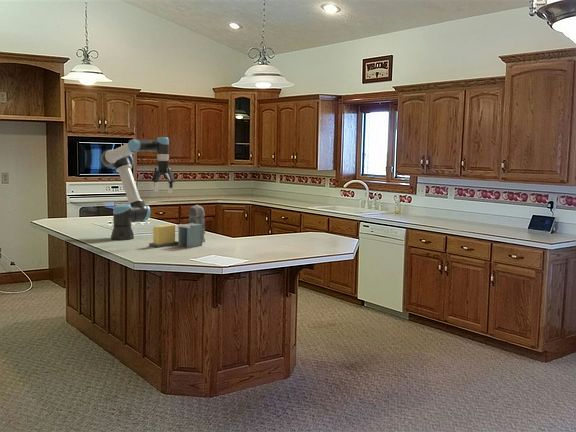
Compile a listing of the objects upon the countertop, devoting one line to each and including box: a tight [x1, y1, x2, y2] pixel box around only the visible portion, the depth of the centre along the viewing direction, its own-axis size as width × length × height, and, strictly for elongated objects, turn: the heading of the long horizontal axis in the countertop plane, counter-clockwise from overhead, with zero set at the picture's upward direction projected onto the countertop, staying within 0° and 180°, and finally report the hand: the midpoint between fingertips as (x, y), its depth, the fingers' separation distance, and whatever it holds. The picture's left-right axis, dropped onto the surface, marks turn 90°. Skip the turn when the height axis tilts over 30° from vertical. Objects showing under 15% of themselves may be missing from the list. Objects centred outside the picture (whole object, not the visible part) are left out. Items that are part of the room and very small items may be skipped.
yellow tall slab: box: [152, 224, 176, 245], centre depth 389 cm, size 5×14×12 cm, turn 143°
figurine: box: [187, 204, 206, 243], centre depth 408 cm, size 10×14×25 cm
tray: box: [148, 240, 178, 249], centre depth 389 cm, size 9×18×2 cm, turn 143°
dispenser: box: [177, 223, 203, 249], centre depth 389 cm, size 9×12×14 cm
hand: (163, 192), depth 404 cm, fingers open, 13 cm apart
